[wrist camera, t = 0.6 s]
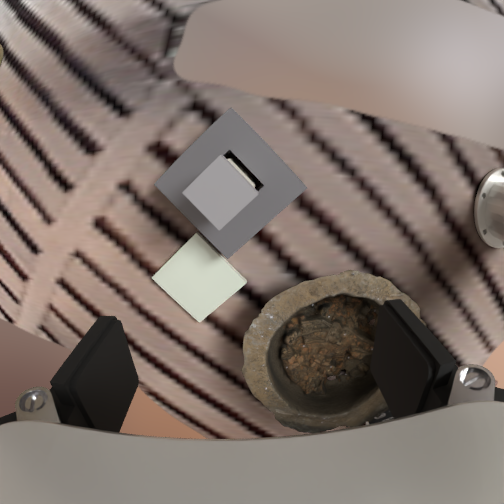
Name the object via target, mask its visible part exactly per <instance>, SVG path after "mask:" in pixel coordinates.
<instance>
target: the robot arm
mask: <svg viewBox="0 0 504 504" xmlns="http://www.w3.org/2000/svg"><path fill="white" fill-rule="evenodd" d="M474 217H475V224H476V228H477V231H478V234H479V236H480V237H481V239H482V240H483V241H484V242H485V243H486V244H488V245H489V246H491V247H494V248H504V168H497V169H494V170H492V171H491V172H489V173H488V174H487V175H486V177H485V178H484V179H483V181H482V182H481V184H480V186H479V189H478V191H477V195H476V199H475V206H474ZM455 362H456V361H455V359H454V358H453V357H452V356H451V355H450V353H449V352H448V351H447V350H446V349H445V348H444V346H443V345H442V344H441V343H440V342H439V341H438V340H437V338H436V337H435V336H434V335H433V334H432V333H431V332H430V331H429V329H428V328H427V327H426V326H425V325H424V324H423V323H422V322H421V321H420V319H419V318H418V317H417V316H416V315H415V314H414V313H413V312H412V311H411V310H410V309H409V307H408V306H407V305H406V304H405V303H404V302H403V301H402V300H401V299H394V300H386V301H385V302H384V304H383V305H380V307H379V313H378V320H377V327H376V334H375V341H374V347H373V353H372V358H371V364H370V368H371V373H372V375H373V377H374V379H375V381H376V383H377V385H378V387H379V389H380V391H381V393H382V395H383V397H384V399H385V401H386V403H387V405H388V407H389V409H390V412H391V414H392V416H393V418H394V419H393V420H388V421H384V422H379V423H374V424H369V425H364V426H359V427H353V428H347V429H341V430H335V431H328V432H321V433H313V434H304V435H294V436H283V437H270V438H251V439H186V438H167V437H154V436H143V435H133V434H126V433H119V432H120V429H121V426H122V424H123V421H124V419H125V416H126V414H127V411H128V409H129V406H130V404H131V401H132V399H133V397H134V394H135V392H136V389H137V387H138V383H139V380H138V375H137V372H136V369H135V366H134V363H133V360H132V357H131V353H130V350H129V347H128V343H127V340H126V337H125V333H124V330H123V326H122V323H121V321H120V320H117V318H116V317H115V316H100V317H99V318H98V319H97V321H96V322H95V323H94V324H93V326H92V327H91V328H90V329H89V331H88V332H87V333H86V334H85V336H84V337H83V338H82V340H81V341H80V342H79V343H78V345H77V346H76V347H75V349H74V350H73V351H72V353H71V354H70V355H69V357H68V358H67V359H66V361H65V362H64V363H63V365H62V366H61V367H60V369H59V370H58V371H57V373H56V374H55V375H54V377H53V378H52V380H51V381H50V383H51V385H52V388H51V389H50V391H49V390H48V389H47V388H44V387H33V388H30V389H28V390H25V391H24V392H23V393H21V394H20V396H19V397H18V398H17V400H16V403H15V408H16V412H14V413H11V414H9V415H6V416H3V417H1V418H0V504H504V389H500V388H497V387H495V378H494V376H493V374H492V373H491V372H490V371H489V370H488V369H486V368H484V367H482V366H479V365H474V364H469V365H464V366H462V367H460V368H459V369H458V367H457V366H456V365H455Z"/></svg>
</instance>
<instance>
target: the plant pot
mask: <svg viewBox="0 0 504 504" xmlns="http://www.w3.org/2000/svg"><path fill="white" fill-rule="evenodd" d="M2 59H3V48H2V46H1V44H0V65H1V62H2Z"/></svg>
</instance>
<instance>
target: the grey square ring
mask: <svg viewBox="0 0 504 504" xmlns="http://www.w3.org/2000/svg"><path fill="white" fill-rule="evenodd" d="M231 151H232V152H233V153H234V154H235V156H236V157H237V158H238V159H239V160H240V161H241V162H242V163H243V164H244V165H245V166H246V167H247V168H248V169H249V170H250V171H251V172H252V173H253V174H254V175H255V176H256V177H257V178H258V179H259V181H260V182H261V183H262V185H260V186H259V187H258V188H257V189H256V190H257V191H258V192H259V193H258V195H257V196H256V197H255V198H254V199H253V200H252V201H251V202H250V203H249V204H247V205H246V206H245V207H244V208H243V209H242V210H241V211H240V212H239V213H238V214H237V215H236V216H235V217H233V218H232V219H231V220H230V221H229V222H228V223H227V224H226V225H225V226H224V227H223V228H222V229H221V230H220V231H219V230H218V229H217V228H216V227H215V226H214V225H213V224H212V223H211V222H210V221H209V220H208V219H207V218H206V217H205V216H204V215H203V214H202V213H201V212H200V211H199V210H198V209H197V208H196V207H195V206H194V205H193V204H192V202H191V201H190V200H189V199H188V198H187V197H186V196H185V195H184V194H183V193H182V192H183V191H184V190H185V189H186V188H187V187H188V186H189V185H190V184H191V183H192V182H193V181H194V180H195V179H196V178H197V177H198V176H199V175H200V174H201V173H202V172H203V171H204V170H205V169H206V168H207V167H208V166H209V165H210V164H211V163H212V162H214V161H215V160H216V159H217V158H218V157H219V156H220V155H223V156H224V157H226V156H227V155H228V154H229V153H230V152H231ZM154 185H155V186H156V187H157V188H158V189H159V190H160V191H161V192H162V193H163V194H164V195H165V196H166V197H167V198H168V199H169V200H170V201H171V202H172V203H173V204H174V205H175V207H176V208H177V209H178V210H179V211H180V212H181V213H182V214H183V215H184V216H185V217H186V218H187V219H188V220H189V221H190V222H191V223H192V224H193V225H194V226H195V227H196V228H197V229H198V230H199V231H200V232H201V233H202V234H203V235H204V236H205V237H206V238H207V239H208V240H209V241H210V242H211V243H212V244H213V245H214V246H215V247H216V248H217V249H218V250H219V251H220V252H221V253H222V254H223V255H224V256H225V257H226V258H227V259H228V258H230V257H231V256H232V255H233V254H234V253H235V252H236V251H237V250H238V249H240V248H241V247H242V246H243V245H244V244H245V243H246V242H247V241H248V240H250V239H251V238H252V237H253V236H254V235H255V234H256V233H257V232H258V231H260V230H261V229H262V228H263V227H264V226H265V225H266V224H267V223H269V222H270V221H271V220H272V219H273V218H274V217H275V216H276V215H277V214H279V213H280V212H281V211H282V210H283V209H284V208H285V207H286V206H288V205H289V204H290V203H291V202H292V201H293V200H294V199H295V198H297V197H298V196H299V195H300V194H301V193H302V192H303V191H304V190H306V189H307V187H306V186H305V185H304V183H303V182H302V181H301V180H300V179H299V178H298V177H297V176H296V175H295V173H294V172H293V171H292V170H291V169H290V168H289V167H288V166H287V165H286V164H285V162H284V161H283V160H282V159H281V158H280V157H279V156H278V155H277V154H276V153H275V152H274V151H273V150H272V149H271V147H270V146H269V145H268V144H267V143H266V142H265V141H264V140H263V139H262V138H261V137H260V136H259V135H258V134H257V133H256V132H255V131H254V130H253V129H252V128H251V127H250V126H249V125H248V124H247V123H246V122H245V121H244V120H243V119H242V118H241V117H240V116H239V115H238V114H237V113H236V112H235V111H234V110H233V109H232V108H230V109H228V110H227V111H226V112H225V113H224V114H223V115H222V116H221V117H220V118H219V119H218V120H217V121H216V122H214V123H213V124H212V125H211V126H210V127H209V128H208V129H207V130H206V131H205V132H204V133H203V134H202V135H201V136H200V137H199V138H198V139H197V140H196V141H195V142H194V143H193V144H192V145H191V146H190V147H189V148H188V149H187V150H186V151H185V152H184V153H183V154H182V155H181V156H180V157H179V158H178V159H177V160H176V161H175V162H174V163H173V164H172V165H171V166H170V167H169V169H168V170H167V171H166V172H165V173H164V174H163V175H162V176H161V177H160V178H159V179H158V180H157V181H156V183H155V184H154Z"/></svg>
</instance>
